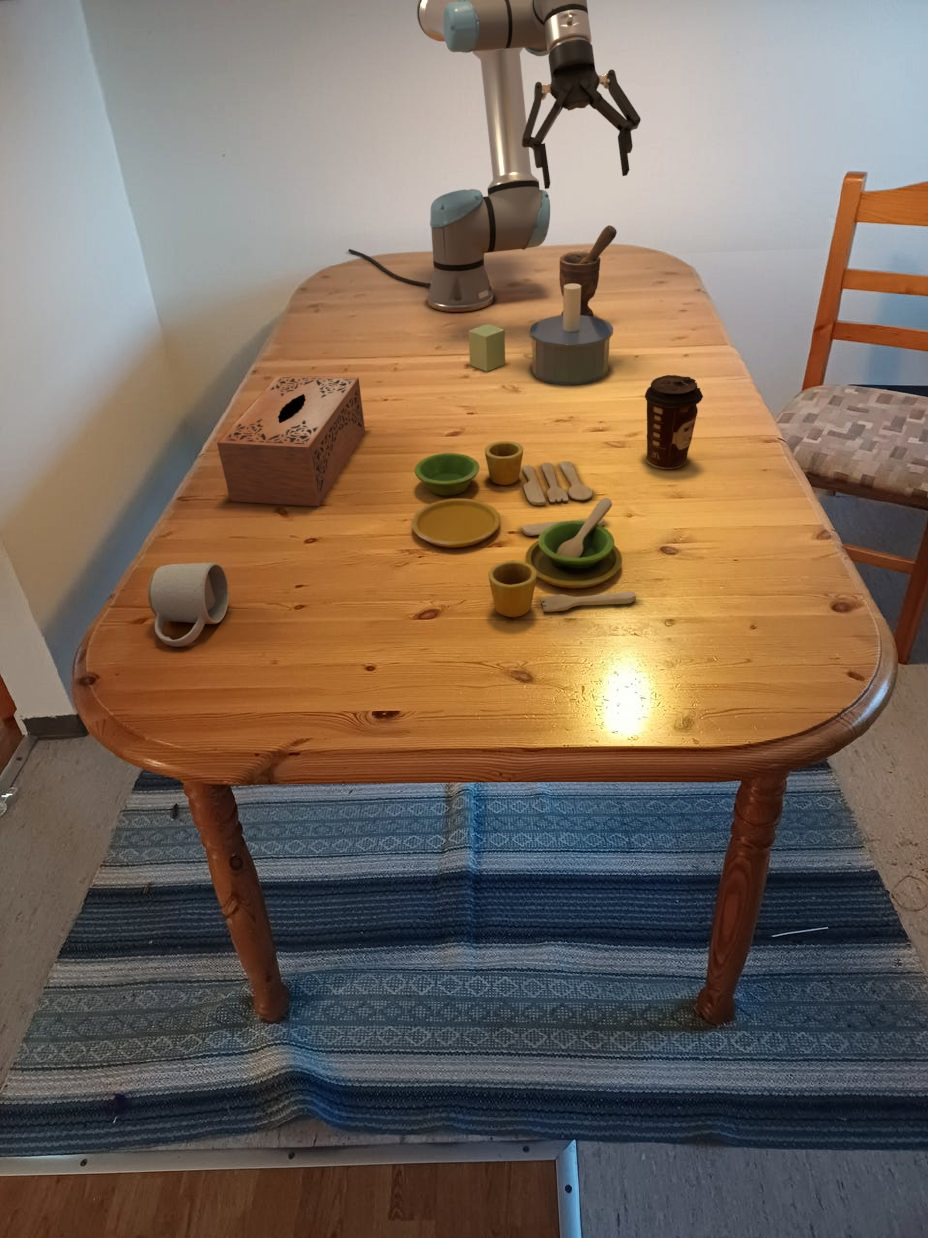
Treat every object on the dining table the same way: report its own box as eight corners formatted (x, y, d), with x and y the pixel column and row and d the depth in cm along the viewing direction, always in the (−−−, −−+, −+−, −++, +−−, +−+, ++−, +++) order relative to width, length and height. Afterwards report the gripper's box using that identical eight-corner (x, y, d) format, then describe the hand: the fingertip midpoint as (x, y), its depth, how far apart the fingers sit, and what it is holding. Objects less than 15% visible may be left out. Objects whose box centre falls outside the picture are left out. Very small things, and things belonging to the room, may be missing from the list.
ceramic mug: (175, 597, 119) (160, 549, 115) (234, 599, 118) (221, 551, 114) (143, 649, 111) (126, 599, 106) (207, 651, 110) (192, 602, 105)
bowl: (516, 371, 176) (516, 333, 171) (568, 350, 183) (569, 313, 179) (571, 391, 167) (572, 352, 162) (623, 368, 174) (626, 330, 170)
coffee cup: (698, 452, 145) (707, 375, 138) (691, 475, 139) (700, 397, 131) (644, 446, 148) (650, 370, 140) (635, 469, 142) (641, 391, 134)
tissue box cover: (318, 506, 137) (308, 447, 131) (230, 501, 140) (216, 442, 134) (365, 432, 157) (358, 377, 151) (287, 428, 160) (277, 374, 153)
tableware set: (644, 610, 113) (648, 568, 109) (424, 633, 111) (420, 591, 107) (576, 459, 145) (577, 423, 141) (405, 475, 144) (402, 439, 140)
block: (469, 365, 179) (468, 330, 175) (488, 358, 182) (487, 323, 177) (486, 371, 176) (485, 336, 172) (505, 364, 179) (504, 329, 174)
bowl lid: (512, 336, 172) (511, 287, 166) (569, 315, 180) (570, 267, 174) (573, 357, 162) (574, 306, 156) (630, 333, 170) (633, 284, 164)
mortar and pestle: (611, 312, 200) (616, 217, 188) (611, 326, 193) (617, 228, 181) (558, 313, 201) (560, 218, 189) (558, 326, 194) (559, 229, 182)
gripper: (497, 50, 148) (515, 183, 151) (647, 24, 147) (663, 159, 150) (496, 71, 156) (514, 198, 158) (639, 47, 155) (654, 175, 158)
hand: (586, 179), depth 154 cm, fingers open, 13 cm apart
